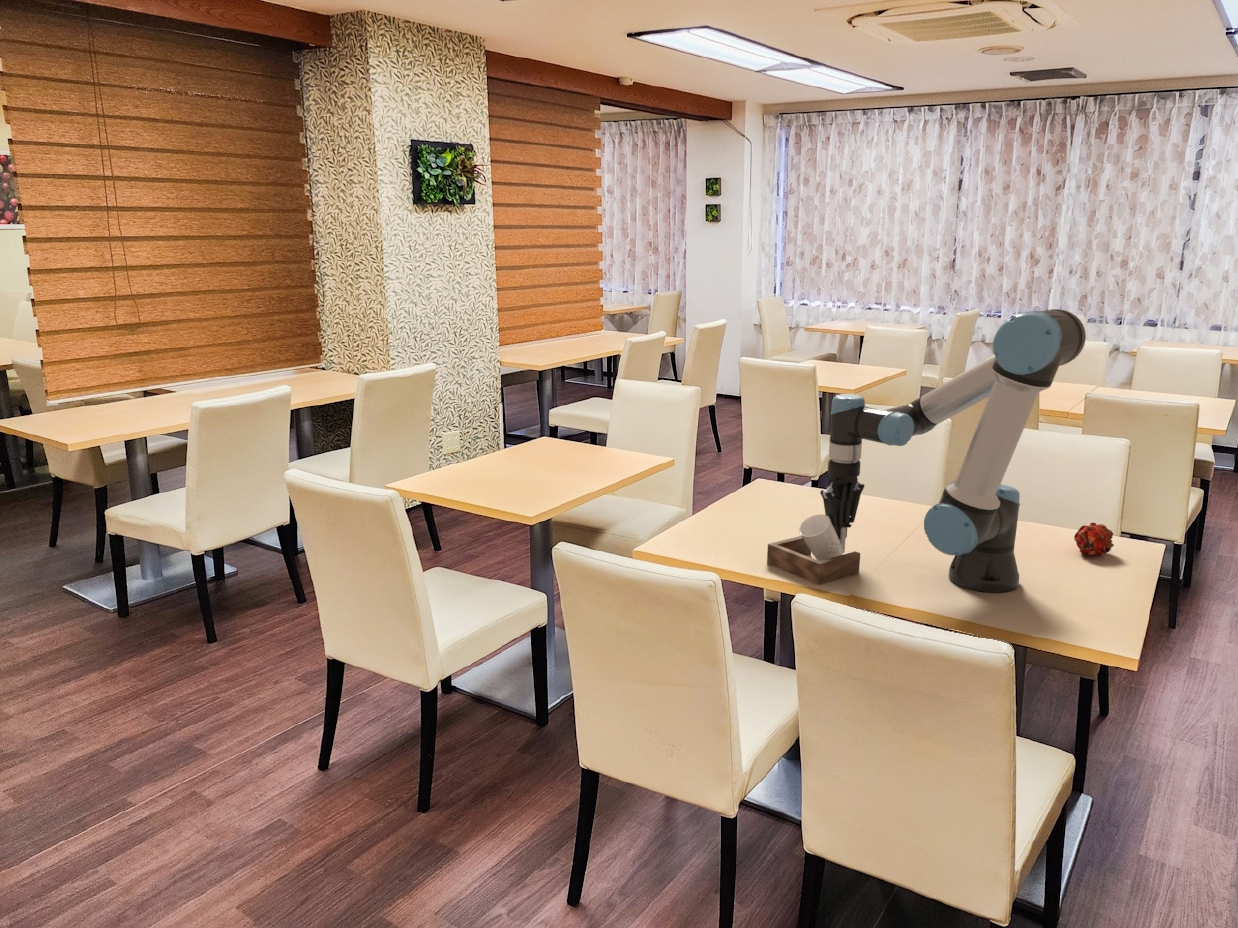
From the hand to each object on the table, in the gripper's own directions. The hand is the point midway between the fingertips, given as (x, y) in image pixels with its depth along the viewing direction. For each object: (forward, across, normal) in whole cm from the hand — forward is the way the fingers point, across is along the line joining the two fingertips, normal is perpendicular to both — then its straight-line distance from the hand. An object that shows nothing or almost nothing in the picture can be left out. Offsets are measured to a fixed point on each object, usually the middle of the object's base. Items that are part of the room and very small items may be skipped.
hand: (838, 551), depth 228 cm
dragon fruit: (+3, -56, +32) cm, 65 cm away
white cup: (0, +3, 0) cm, 3 cm away
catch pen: (+2, +9, +1) cm, 10 cm away
